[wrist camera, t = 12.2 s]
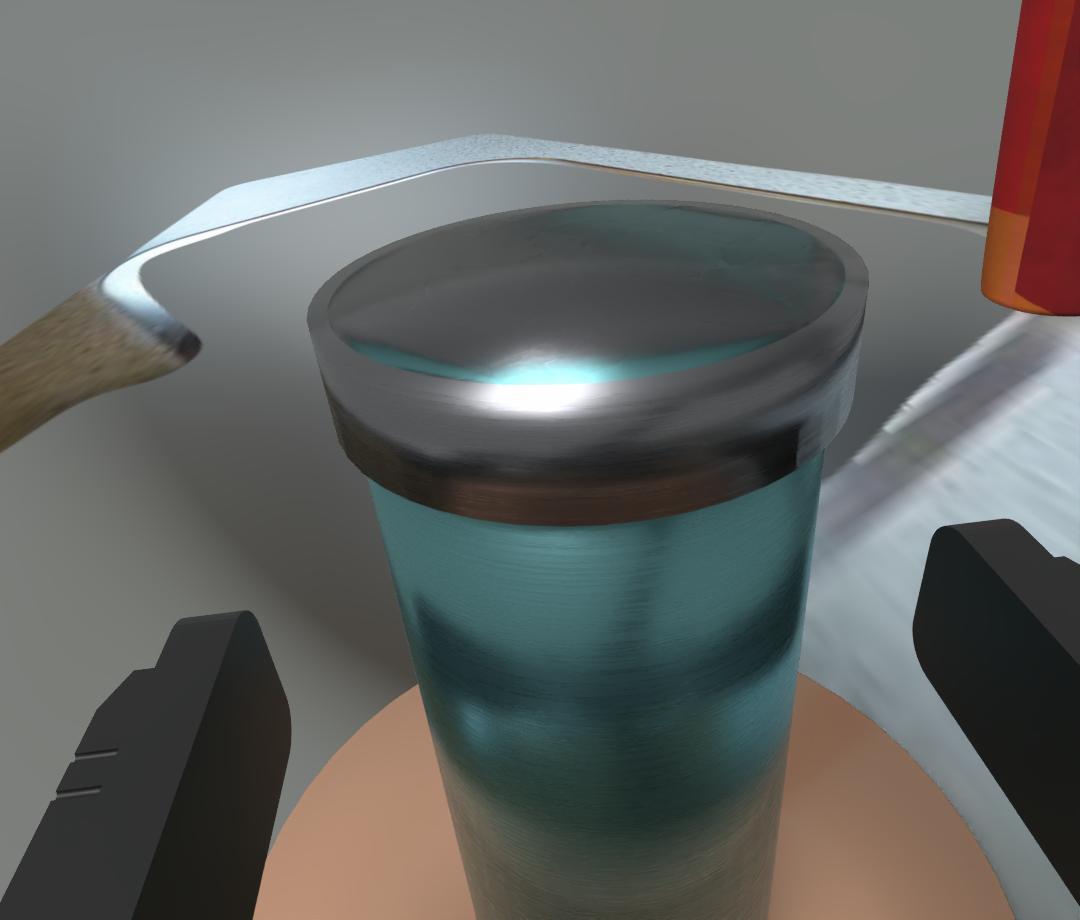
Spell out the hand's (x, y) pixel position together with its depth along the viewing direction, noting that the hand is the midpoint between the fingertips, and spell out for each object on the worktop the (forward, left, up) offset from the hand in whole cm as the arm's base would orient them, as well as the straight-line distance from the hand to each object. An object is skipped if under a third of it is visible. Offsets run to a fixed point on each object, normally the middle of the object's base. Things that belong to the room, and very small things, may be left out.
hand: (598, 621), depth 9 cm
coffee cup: (-38, +5, -9) cm, 39 cm away
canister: (-1, 0, -8) cm, 8 cm away
